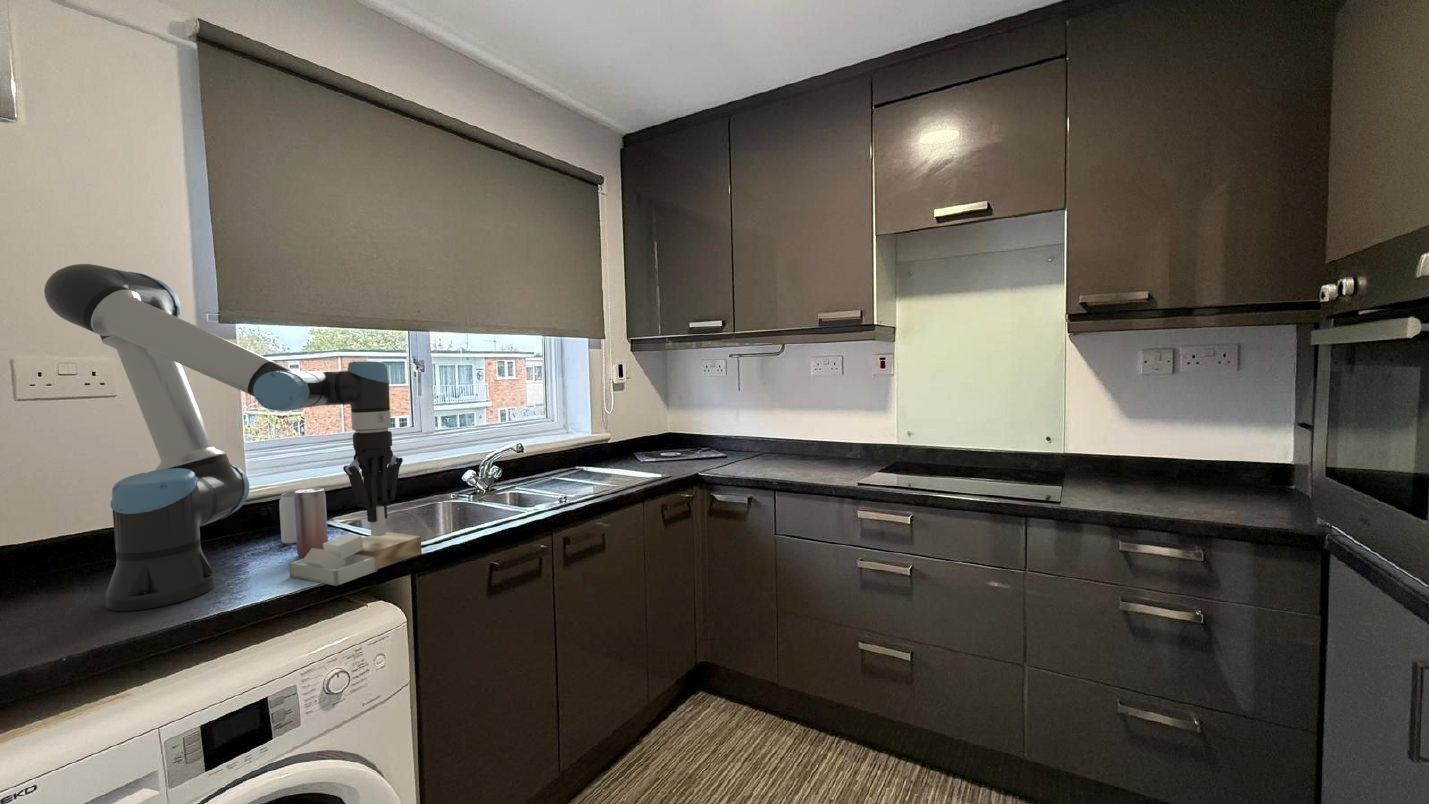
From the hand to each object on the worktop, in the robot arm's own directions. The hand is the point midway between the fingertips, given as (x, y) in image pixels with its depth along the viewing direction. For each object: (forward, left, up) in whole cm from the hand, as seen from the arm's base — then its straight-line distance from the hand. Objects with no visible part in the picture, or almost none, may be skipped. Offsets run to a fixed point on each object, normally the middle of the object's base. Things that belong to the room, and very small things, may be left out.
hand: (378, 534), depth 131 cm
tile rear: (-8, 0, -2) cm, 8 cm away
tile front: (-11, 0, -1) cm, 11 cm away
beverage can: (-3, +18, -6) cm, 19 cm away
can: (+3, +33, -6) cm, 34 cm away
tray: (-10, 0, -6) cm, 12 cm away
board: (0, 0, -6) cm, 6 cm away
